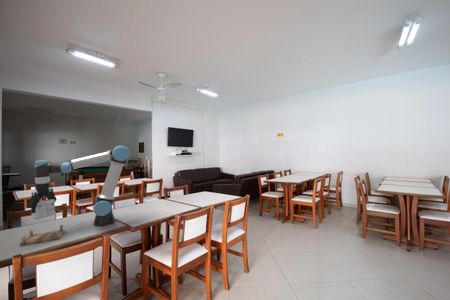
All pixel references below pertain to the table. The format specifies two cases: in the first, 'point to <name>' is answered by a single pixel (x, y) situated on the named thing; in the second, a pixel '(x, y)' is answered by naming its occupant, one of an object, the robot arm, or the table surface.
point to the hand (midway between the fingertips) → (43, 214)
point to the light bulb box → (45, 208)
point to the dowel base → (42, 237)
